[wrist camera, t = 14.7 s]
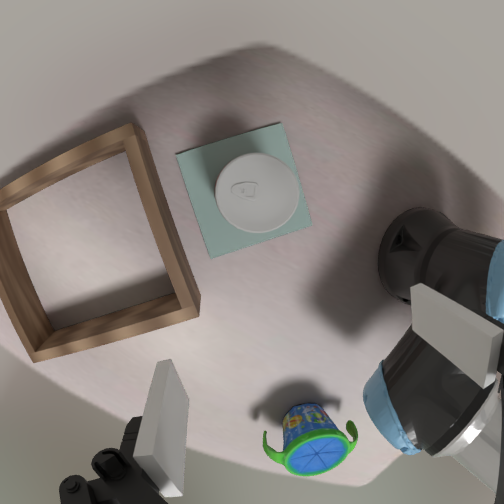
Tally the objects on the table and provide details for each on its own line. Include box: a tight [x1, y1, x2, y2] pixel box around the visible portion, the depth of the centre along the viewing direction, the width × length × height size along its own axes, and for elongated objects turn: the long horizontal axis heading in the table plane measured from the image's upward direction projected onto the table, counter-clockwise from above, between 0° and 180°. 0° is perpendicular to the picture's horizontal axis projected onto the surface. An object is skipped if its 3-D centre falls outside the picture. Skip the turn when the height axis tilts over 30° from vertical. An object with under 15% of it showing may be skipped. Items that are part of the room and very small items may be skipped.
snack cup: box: [263, 403, 358, 476], centre depth 45 cm, size 16×11×10 cm
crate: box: [0, 122, 201, 363], centre depth 36 cm, size 26×23×7 cm
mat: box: [176, 123, 312, 259], centre depth 40 cm, size 14×14×1 cm
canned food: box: [215, 153, 299, 233], centre depth 35 cm, size 8×8×11 cm
